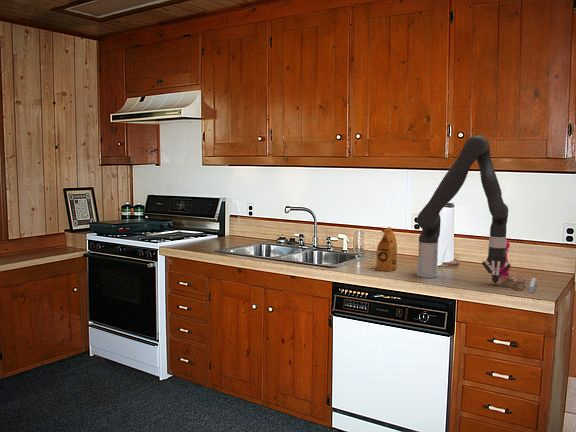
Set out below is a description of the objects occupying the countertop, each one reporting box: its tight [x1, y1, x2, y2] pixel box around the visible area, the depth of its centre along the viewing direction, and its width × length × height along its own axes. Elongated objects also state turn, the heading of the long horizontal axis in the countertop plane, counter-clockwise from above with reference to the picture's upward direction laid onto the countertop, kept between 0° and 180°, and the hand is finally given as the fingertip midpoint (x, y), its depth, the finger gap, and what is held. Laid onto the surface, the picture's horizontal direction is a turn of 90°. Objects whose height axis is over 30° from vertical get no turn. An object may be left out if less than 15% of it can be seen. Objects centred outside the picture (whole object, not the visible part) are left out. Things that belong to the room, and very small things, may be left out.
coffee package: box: [375, 226, 398, 273], centre depth 292 cm, size 10×12×22 cm
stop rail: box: [528, 277, 537, 294], centre depth 252 cm, size 2×18×3 cm, turn 153°
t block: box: [499, 275, 526, 291], centre depth 255 cm, size 10×12×4 cm
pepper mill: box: [495, 239, 511, 278], centre depth 275 cm, size 7×7×20 cm
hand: (495, 282), depth 259 cm, fingers closed
